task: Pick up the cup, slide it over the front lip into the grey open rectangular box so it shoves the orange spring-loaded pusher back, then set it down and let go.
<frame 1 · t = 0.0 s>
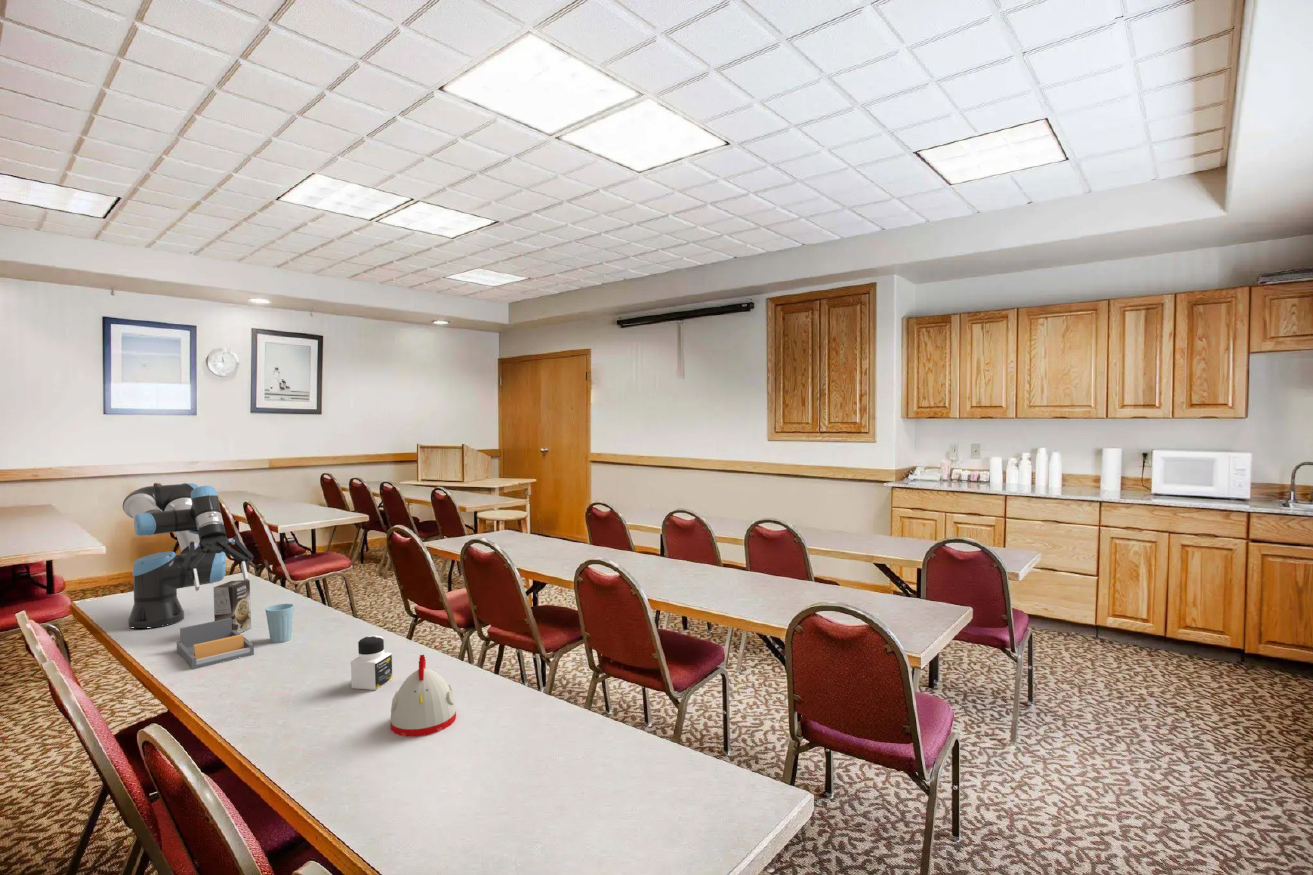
hand: (222, 584, 213), 15 cm above the table, tool tilted 35°, fingers open, 13 cm apart
pusher: (217, 644, 191), point 3 cm above the table, slide at 0.0 cm
grey open rectangular box: (215, 653, 193), on the table
kitchen timer: (423, 722, 147), on the table
coffee box: (233, 633, 212), on the table
medicine bottle: (372, 684, 169), on the table
cup: (281, 640, 204), on the table
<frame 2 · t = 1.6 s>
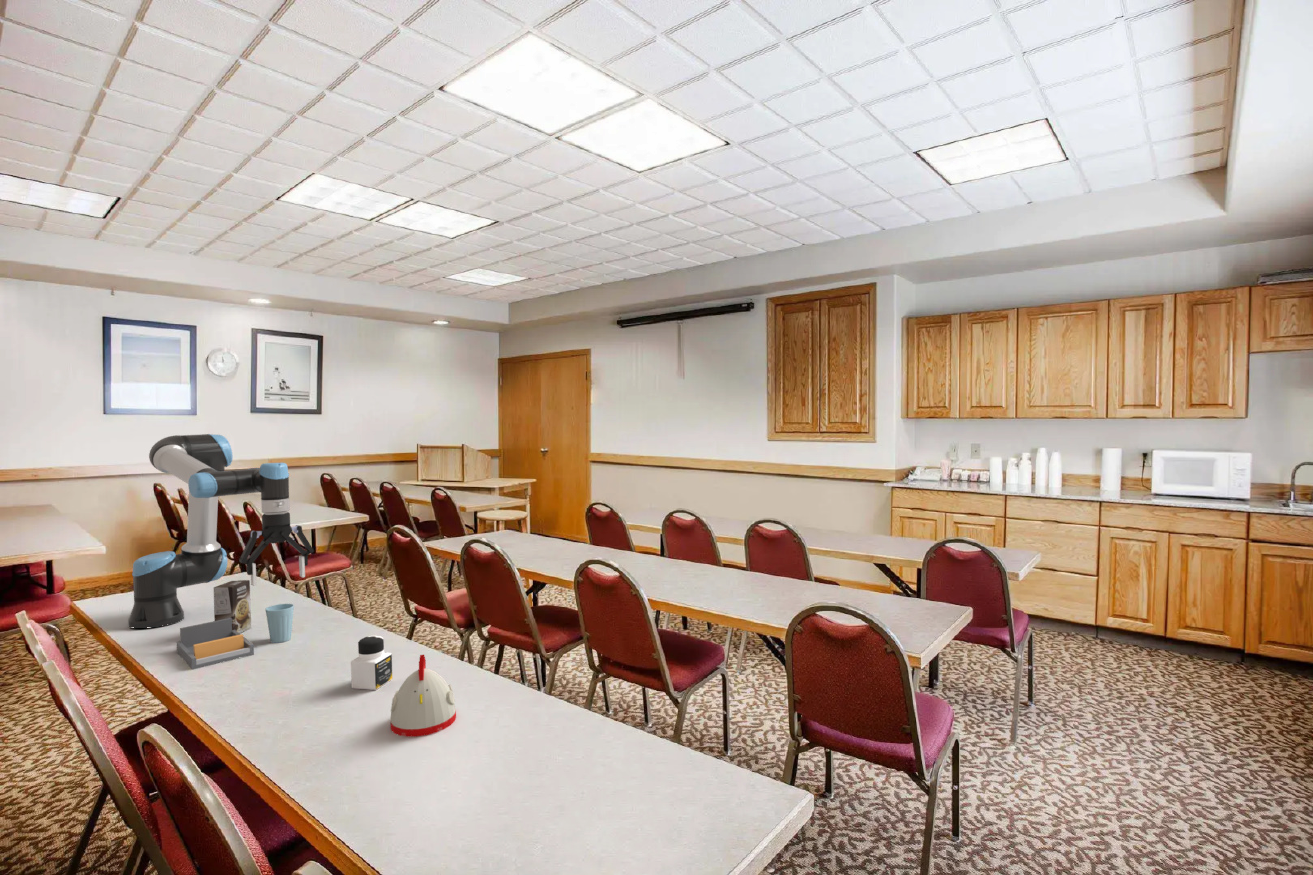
hand: (278, 580, 203), 19 cm above the table, tool pointing down, fingers open, 13 cm apart
nothing on the table moved.
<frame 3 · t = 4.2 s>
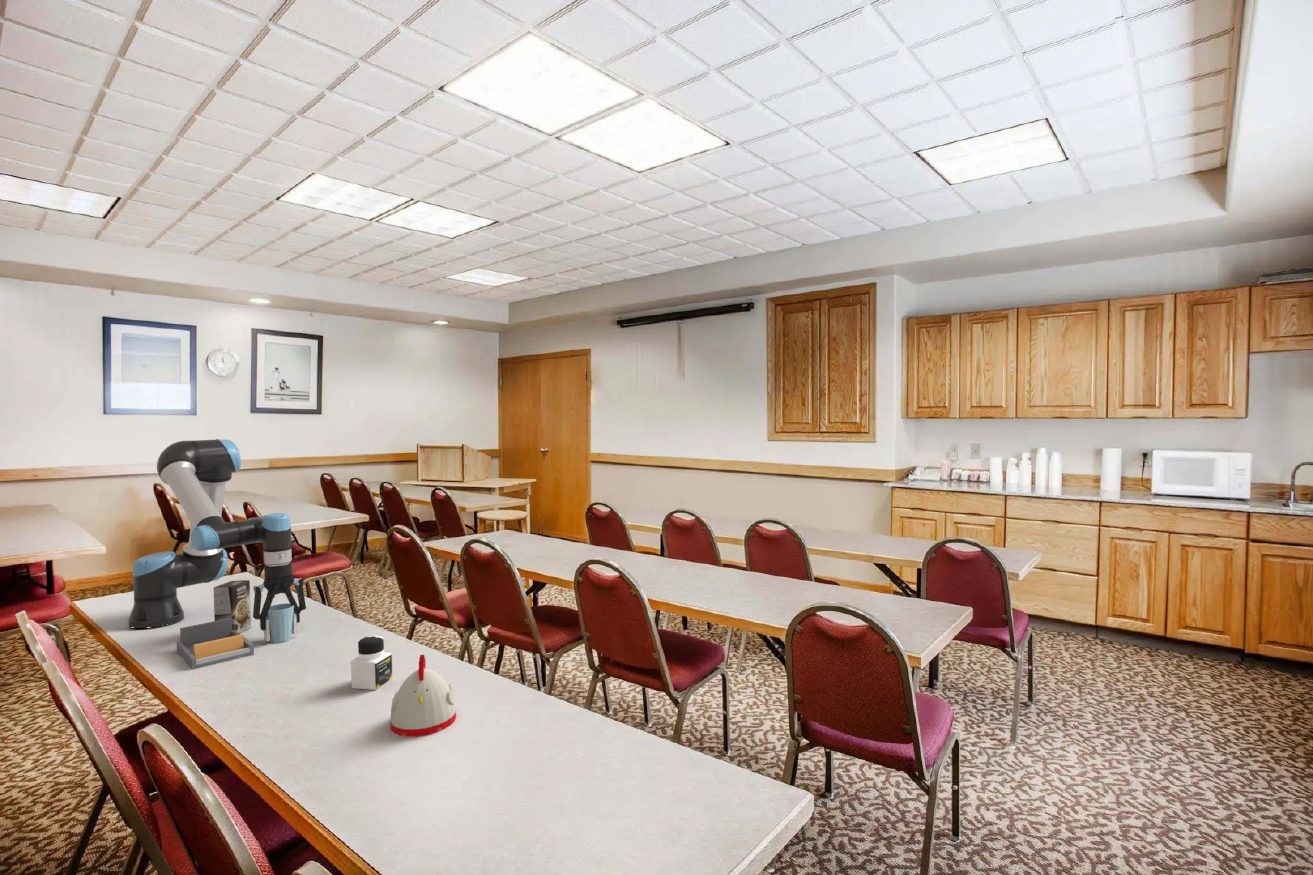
hand: (280, 636, 204), 1 cm above the table, tool pointing down, fingers closed on cup, 7 cm apart
cup: (281, 640, 204), on the table, touching gripper
everything else where it was.
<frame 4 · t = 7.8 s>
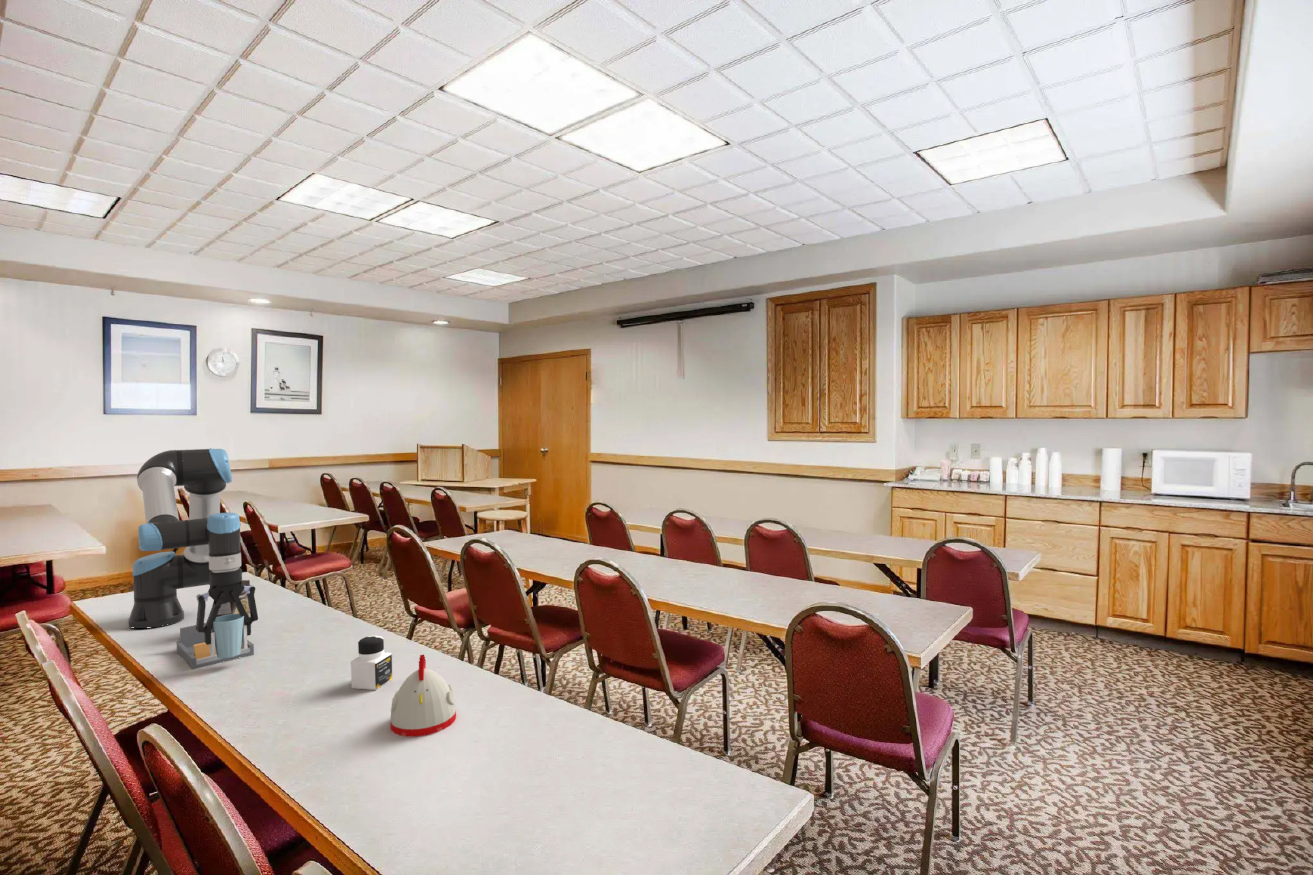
hand: (228, 651, 182), 4 cm above the table, tool pointing down, fingers closed on cup, 7 cm apart
cup: (229, 655, 182), point 3 cm above the table, touching gripper
everything else where it was.
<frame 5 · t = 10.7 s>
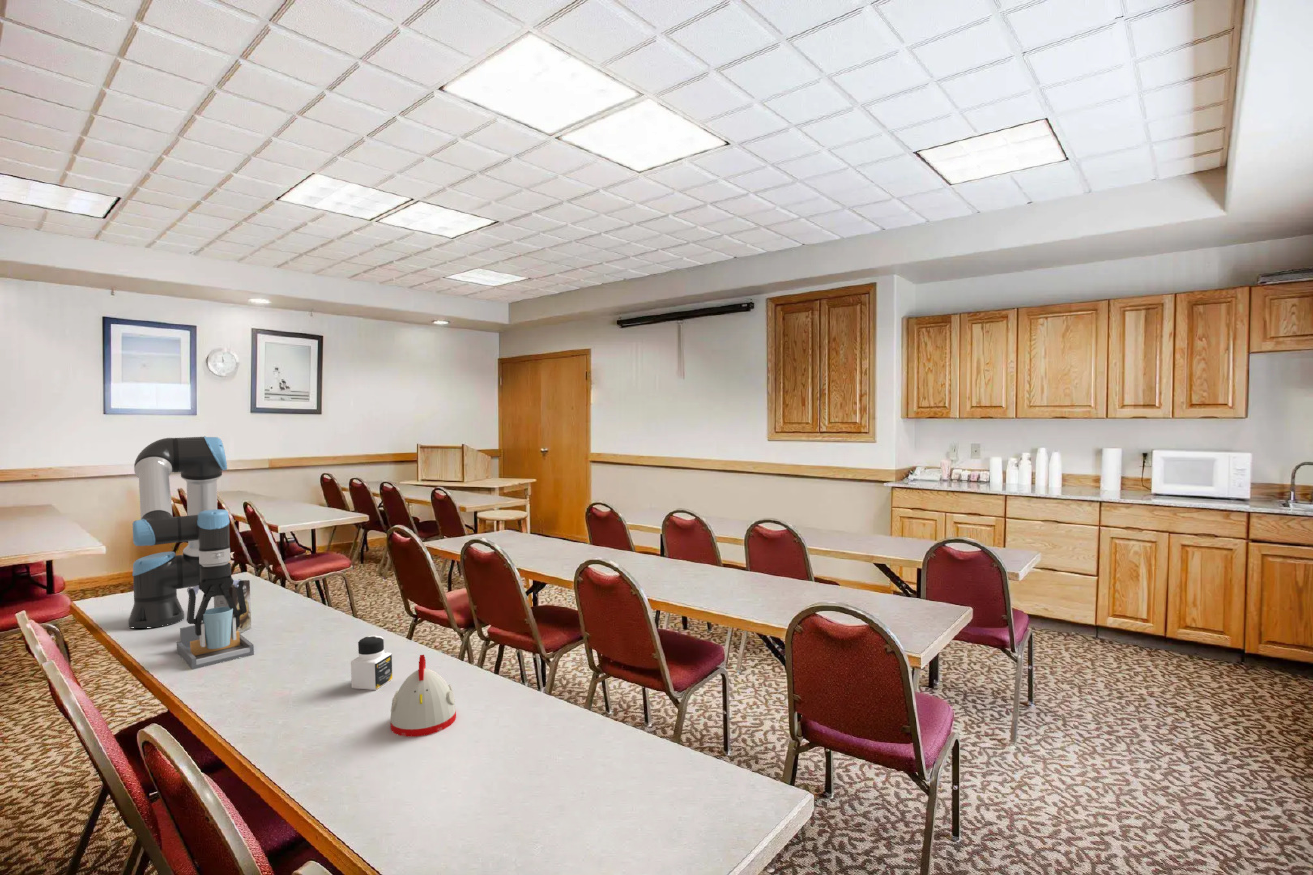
hand: (218, 642, 190), 4 cm above the table, tool pointing down, fingers closed on cup, 7 cm apart
pusher: (213, 641, 194), point 3 cm above the table, slide at 4.3 cm, touching cup
cup: (218, 646, 190), point 3 cm above the table, touching gripper, pusher
everything else where it was.
when the fingers open (3 cm above the table, at t = 11.4 s): cup moves 1 cm, resting on grey open rectangular box, pusher.
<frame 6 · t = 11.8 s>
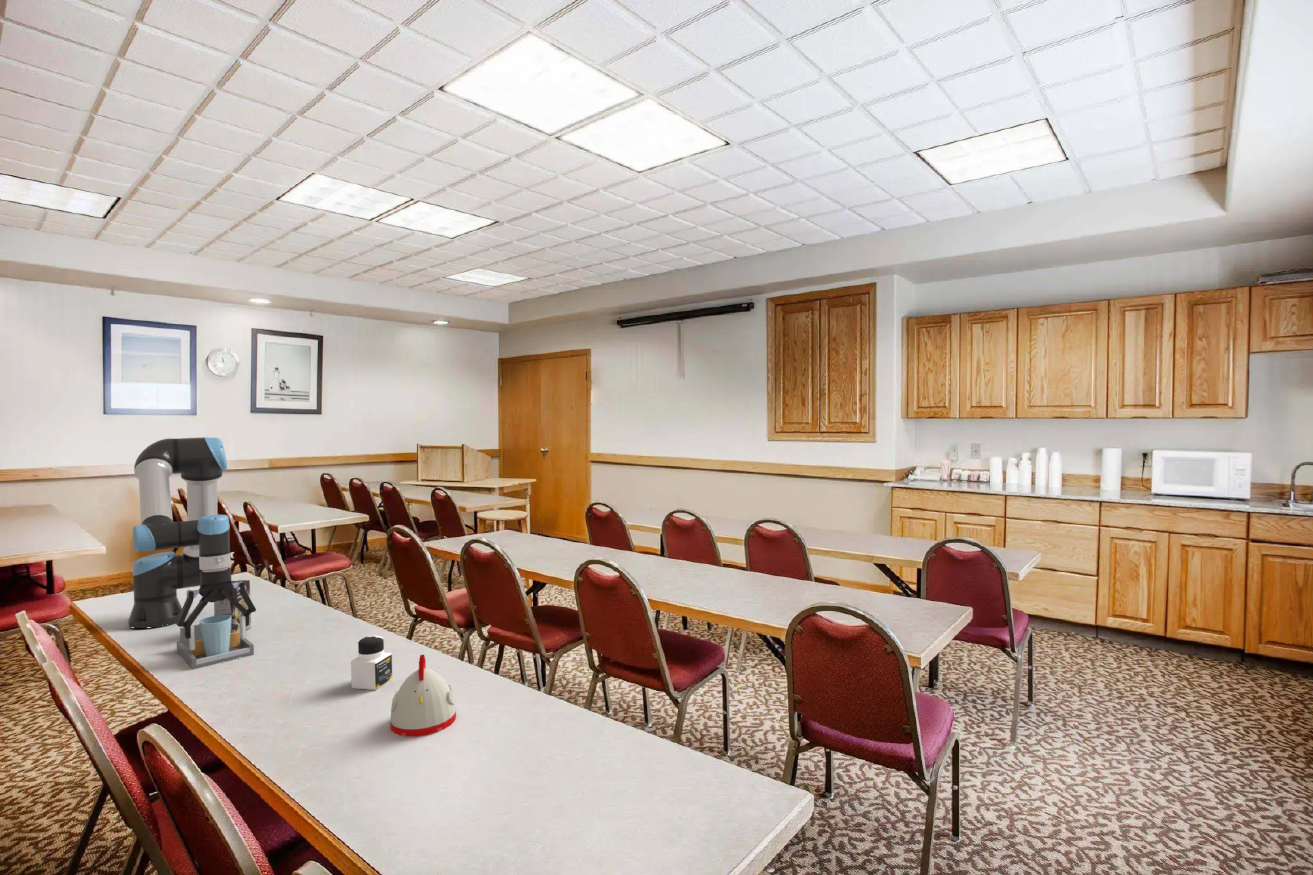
hand: (218, 643, 190), 4 cm above the table, tool pointing down, fingers open, 12 cm apart
pusher: (213, 641, 194), point 3 cm above the table, slide at 3.8 cm, touching cup
cup: (217, 655, 189), point 1 cm above the table, touching grey open rectangular box, pusher
everything else where it was.
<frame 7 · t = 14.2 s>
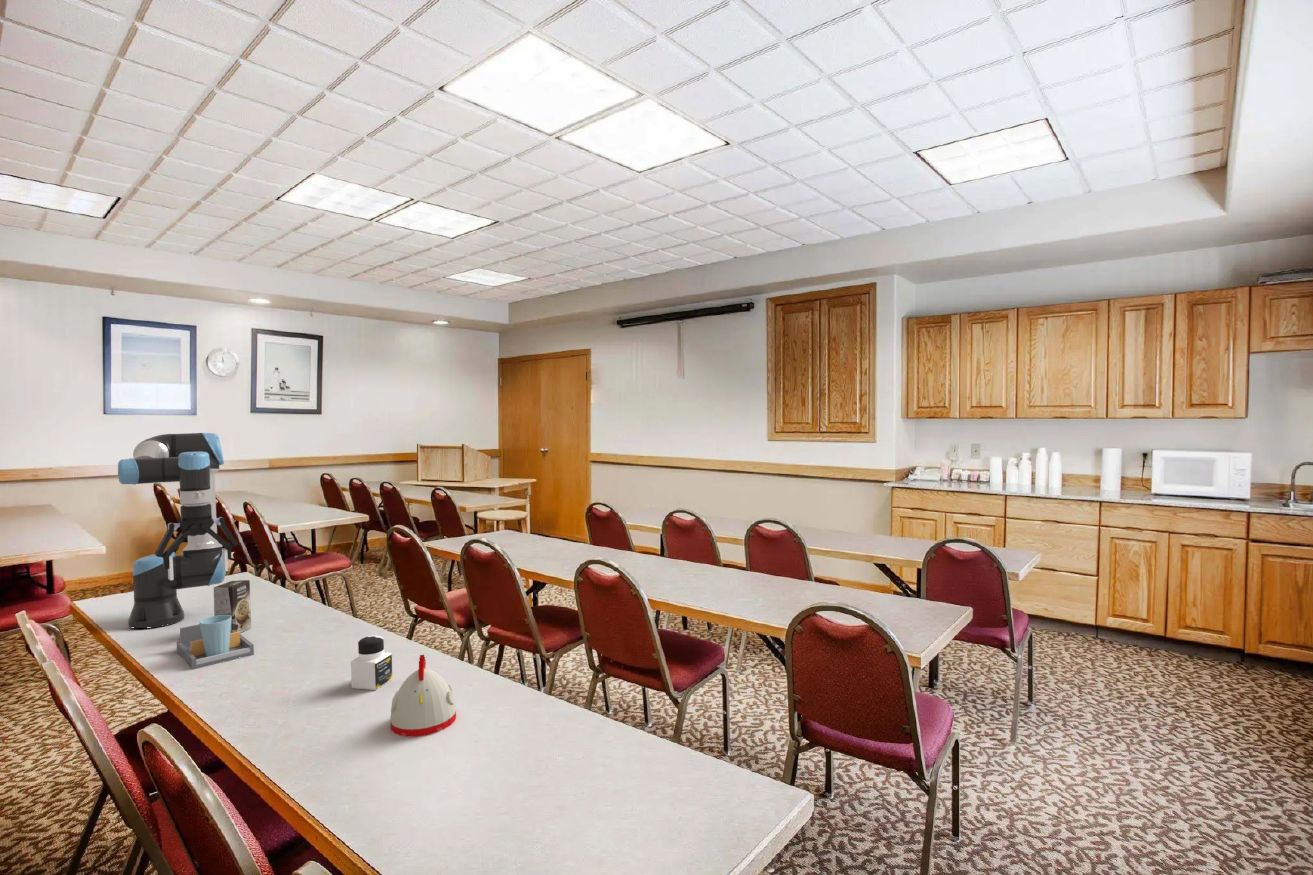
hand: (198, 574, 195), 23 cm above the table, tool pointing down, fingers open, 13 cm apart
nothing on the table moved.
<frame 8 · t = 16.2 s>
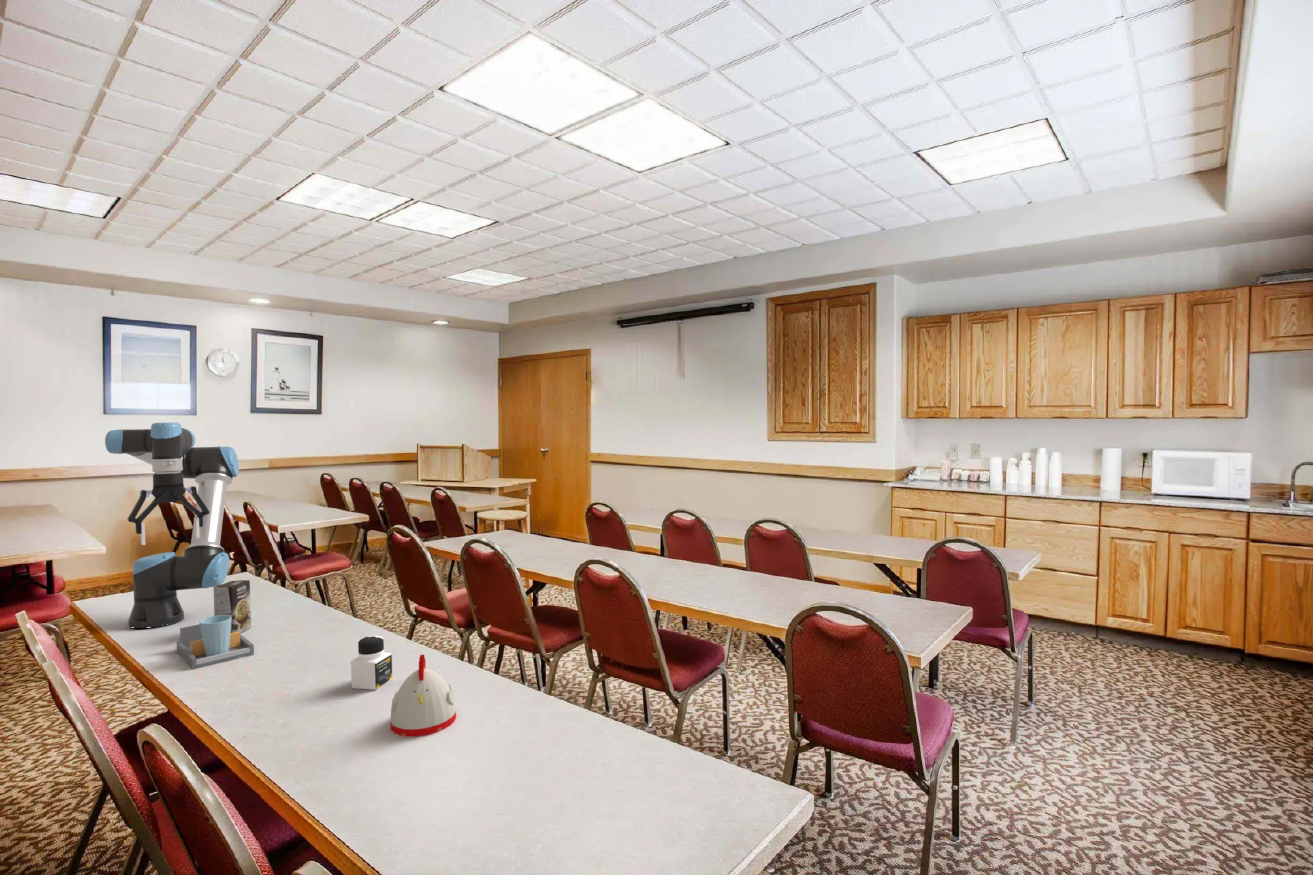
hand: (170, 541, 202), 32 cm above the table, tool pointing down, fingers open, 13 cm apart
nothing on the table moved.
at the end: cup inside the target area on the grey open rectangular box (0.5 cm from its centre), point 0.9 cm above the grey open rectangular box's base; cup tilted 1°; pusher slide at 3.8 cm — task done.
